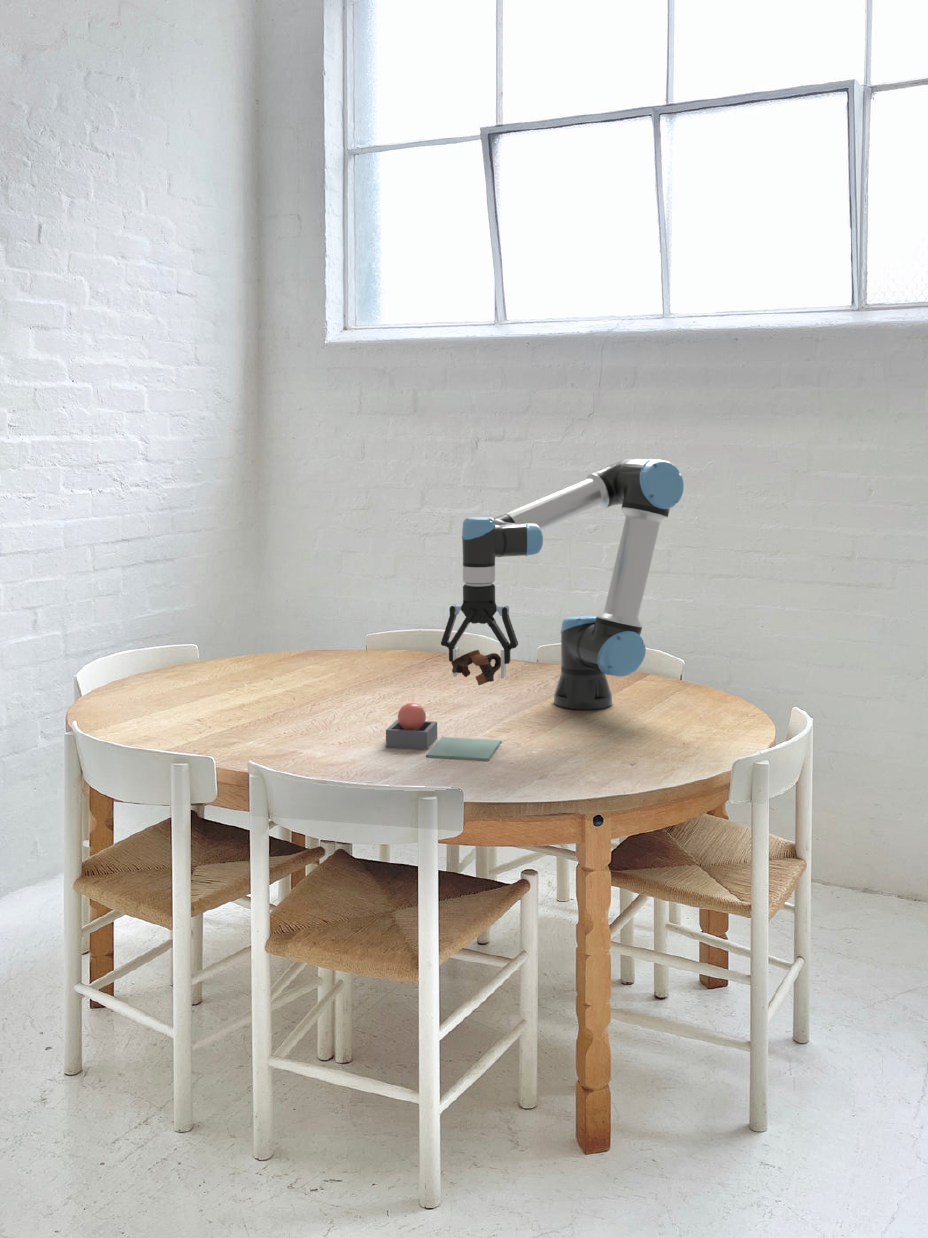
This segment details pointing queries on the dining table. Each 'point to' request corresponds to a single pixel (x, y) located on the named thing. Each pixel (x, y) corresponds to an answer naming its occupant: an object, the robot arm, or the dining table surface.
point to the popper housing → (411, 736)
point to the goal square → (464, 748)
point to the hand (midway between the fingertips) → (479, 676)
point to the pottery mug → (479, 660)
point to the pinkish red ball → (411, 716)
